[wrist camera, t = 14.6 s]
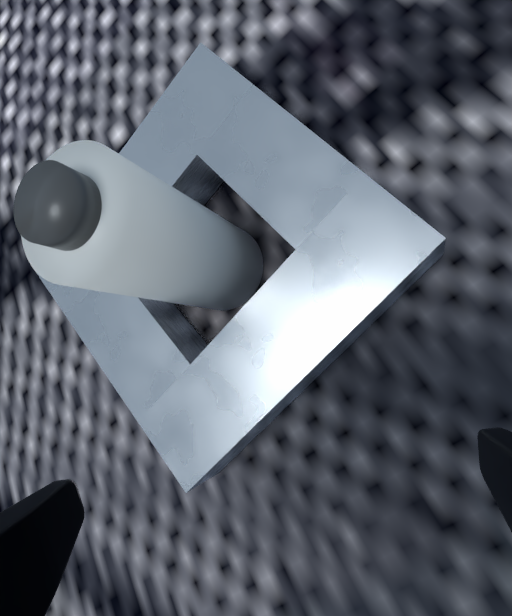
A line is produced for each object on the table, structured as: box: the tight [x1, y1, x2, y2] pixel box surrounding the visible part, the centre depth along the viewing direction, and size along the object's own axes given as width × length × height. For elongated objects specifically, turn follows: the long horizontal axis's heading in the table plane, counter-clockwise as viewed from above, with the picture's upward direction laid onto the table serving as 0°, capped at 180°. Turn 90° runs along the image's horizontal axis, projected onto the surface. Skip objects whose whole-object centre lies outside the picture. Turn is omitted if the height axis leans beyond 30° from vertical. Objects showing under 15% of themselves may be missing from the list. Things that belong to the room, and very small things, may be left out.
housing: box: [36, 43, 446, 493], centre depth 20 cm, size 15×15×3 cm
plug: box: [14, 140, 263, 311], centre depth 16 cm, size 4×4×11 cm
